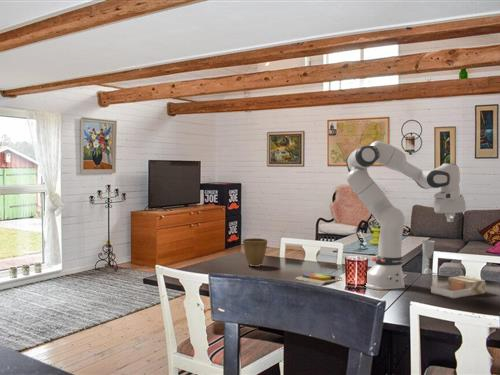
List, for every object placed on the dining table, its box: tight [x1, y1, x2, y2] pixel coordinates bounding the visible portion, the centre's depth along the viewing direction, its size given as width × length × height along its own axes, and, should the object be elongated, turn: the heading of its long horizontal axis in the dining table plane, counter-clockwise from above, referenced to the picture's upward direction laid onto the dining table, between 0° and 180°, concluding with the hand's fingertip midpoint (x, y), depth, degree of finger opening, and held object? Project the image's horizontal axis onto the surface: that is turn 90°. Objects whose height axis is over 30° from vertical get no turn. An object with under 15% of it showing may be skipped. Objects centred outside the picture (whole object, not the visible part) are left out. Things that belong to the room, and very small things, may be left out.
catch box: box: [430, 283, 472, 300], centre depth 216 cm, size 12×12×3 cm
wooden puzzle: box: [295, 272, 343, 286], centre depth 246 cm, size 18×19×4 cm
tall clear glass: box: [421, 239, 436, 275], centre depth 267 cm, size 7×7×18 cm
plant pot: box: [242, 237, 268, 265], centre depth 285 cm, size 15×15×16 cm
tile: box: [451, 280, 464, 291], centre depth 218 cm, size 5×5×2 cm
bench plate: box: [447, 275, 486, 296], centre depth 222 cm, size 10×12×6 cm
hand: (450, 221), depth 242 cm, fingers closed
